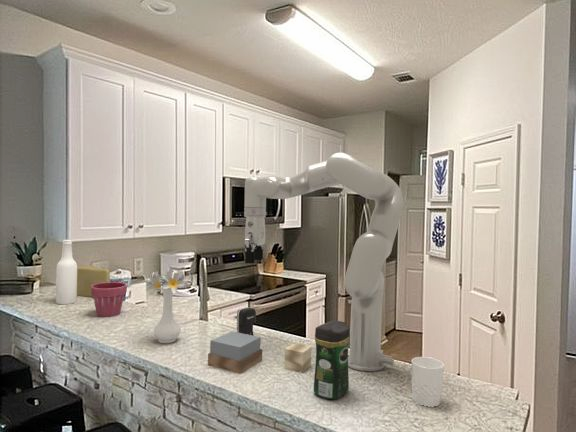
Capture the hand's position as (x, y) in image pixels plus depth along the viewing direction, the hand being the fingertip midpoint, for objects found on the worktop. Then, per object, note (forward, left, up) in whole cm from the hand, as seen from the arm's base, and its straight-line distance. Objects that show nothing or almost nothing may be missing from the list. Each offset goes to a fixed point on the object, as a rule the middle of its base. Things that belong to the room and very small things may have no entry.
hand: (254, 261), depth 144 cm
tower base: (-5, +18, -30) cm, 35 cm away
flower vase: (+28, +14, -29) cm, 43 cm away
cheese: (+106, -18, -29) cm, 111 cm away
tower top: (-5, +18, -26) cm, 32 cm away
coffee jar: (-38, +22, -29) cm, 53 cm away
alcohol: (+106, -2, -29) cm, 110 cm away
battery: (+4, -2, -29) cm, 30 cm away
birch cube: (-23, +11, -29) cm, 39 cm away
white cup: (-61, +14, -29) cm, 69 cm away
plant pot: (+73, +1, -29) cm, 79 cm away
